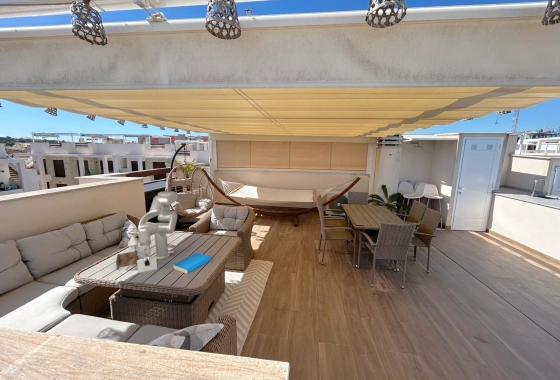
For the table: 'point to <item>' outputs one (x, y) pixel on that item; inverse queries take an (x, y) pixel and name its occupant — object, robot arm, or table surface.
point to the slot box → (126, 259)
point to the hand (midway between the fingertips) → (147, 262)
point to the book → (191, 262)
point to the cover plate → (146, 268)
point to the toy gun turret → (134, 245)
